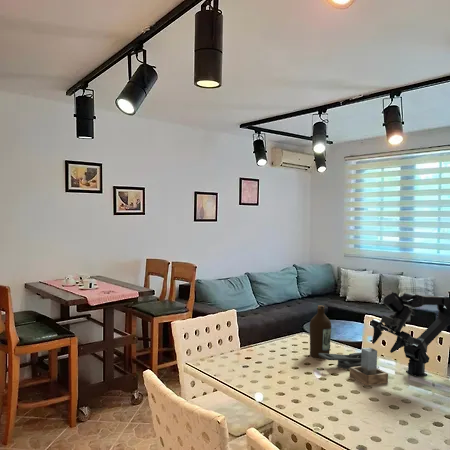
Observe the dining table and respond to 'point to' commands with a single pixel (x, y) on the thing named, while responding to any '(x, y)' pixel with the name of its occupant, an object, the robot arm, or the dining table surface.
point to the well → (368, 376)
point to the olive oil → (320, 333)
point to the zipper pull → (344, 359)
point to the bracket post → (369, 361)
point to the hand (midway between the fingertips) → (381, 347)
